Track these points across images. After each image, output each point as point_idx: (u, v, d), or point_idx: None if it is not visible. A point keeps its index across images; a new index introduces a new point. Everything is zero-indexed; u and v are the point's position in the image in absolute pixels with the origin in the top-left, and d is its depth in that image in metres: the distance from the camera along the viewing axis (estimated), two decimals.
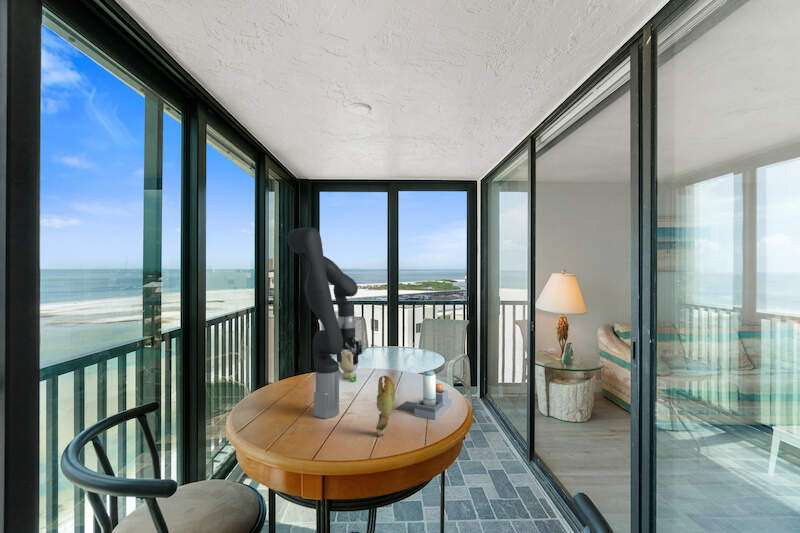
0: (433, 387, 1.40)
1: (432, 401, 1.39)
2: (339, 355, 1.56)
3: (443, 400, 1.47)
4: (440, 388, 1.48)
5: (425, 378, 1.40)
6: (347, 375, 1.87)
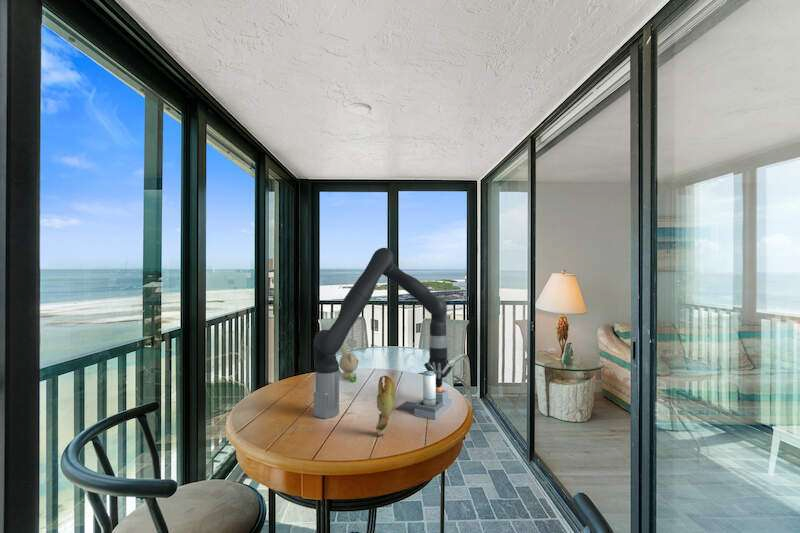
0: (433, 387, 1.40)
1: (432, 401, 1.39)
2: None
3: (443, 400, 1.47)
4: (440, 390, 1.48)
5: (425, 378, 1.40)
6: (347, 375, 1.87)
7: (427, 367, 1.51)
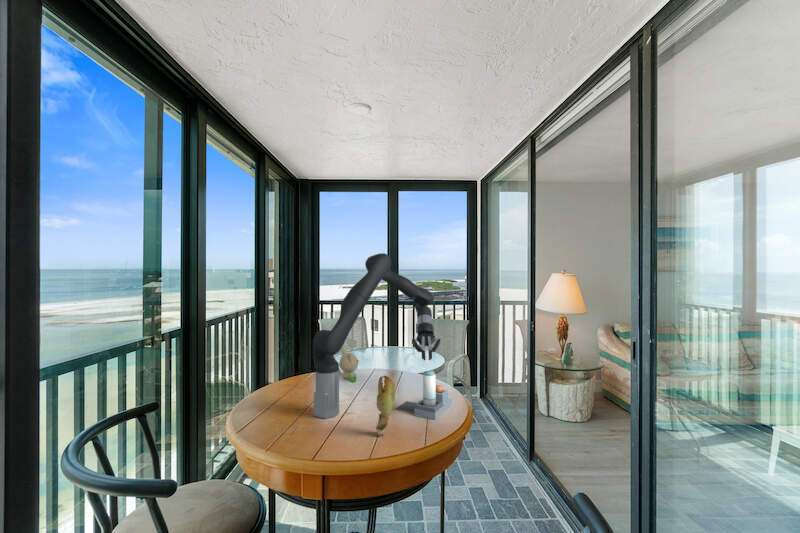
0: (433, 387, 1.40)
1: (432, 401, 1.39)
2: (424, 352, 1.55)
3: (443, 400, 1.47)
4: (440, 389, 1.48)
5: (425, 378, 1.40)
6: (347, 375, 1.87)
7: (415, 342, 1.58)
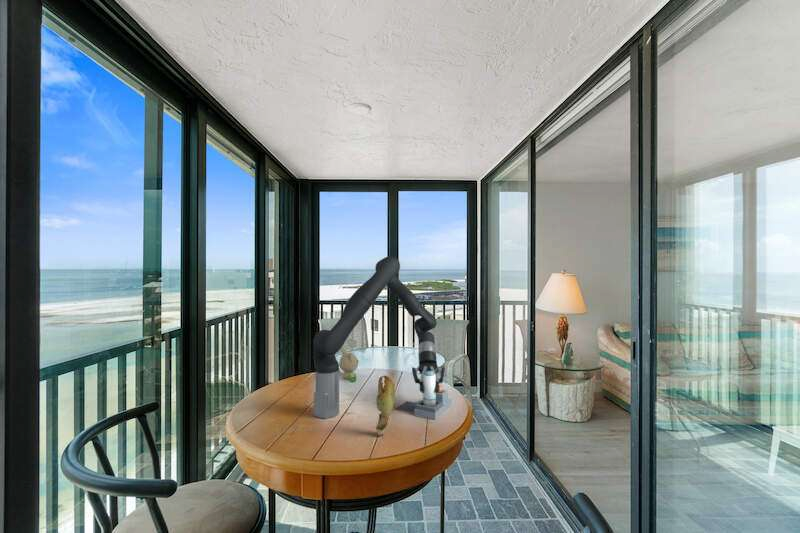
0: (433, 387, 1.40)
1: (432, 401, 1.39)
2: None
3: (443, 400, 1.47)
4: (440, 389, 1.48)
5: (425, 378, 1.40)
6: (347, 375, 1.87)
7: (414, 371, 1.45)
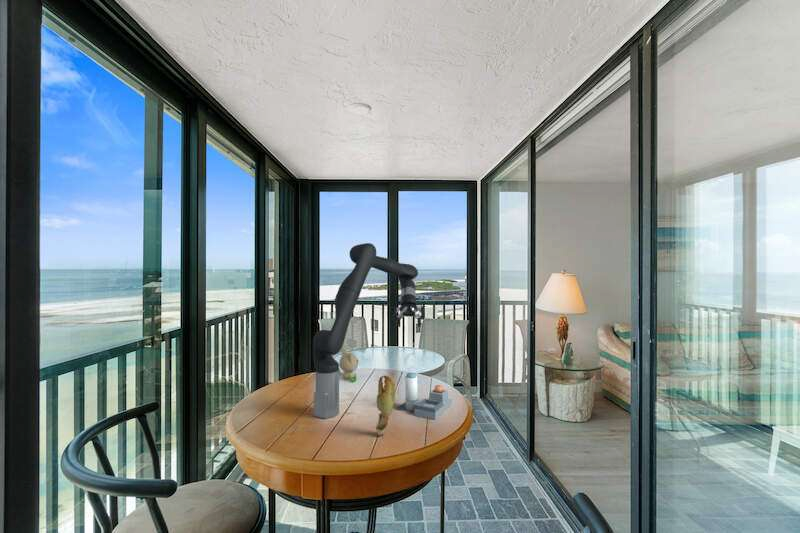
0: (415, 389, 1.45)
1: (413, 402, 1.44)
2: (400, 319, 1.60)
3: (443, 400, 1.47)
4: (440, 389, 1.48)
5: (407, 380, 1.45)
6: (347, 375, 1.87)
7: (395, 309, 1.64)
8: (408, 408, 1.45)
